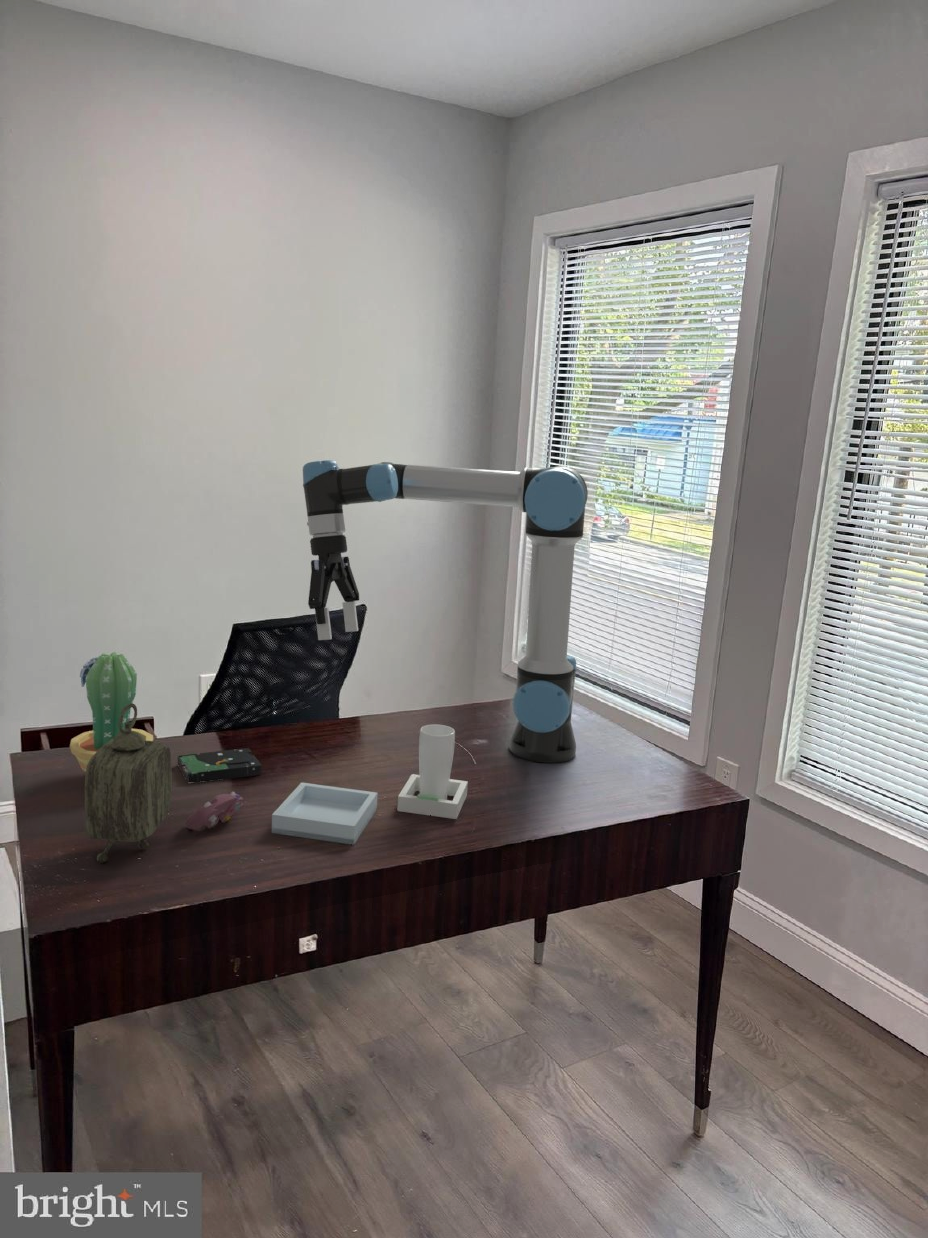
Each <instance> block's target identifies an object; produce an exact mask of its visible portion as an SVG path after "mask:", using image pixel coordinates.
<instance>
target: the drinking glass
mask: <svg viewBox="0 0 928 1238" xmlns="http://www.w3.org/2000/svg"><path fill="white" fill-rule="evenodd" d="M455 738H456V731H455V729H454V728H453V727H450V726H448V725H444V724H432V723H431V724H427V725H426V724H425V725H423V726H422V727H421V728H420V729H419V740H418V768H419V770H418V771H419V772H418V773H419V774H418V775H420V792H419V794H426V795H433V796H439V799H442V800H448V795H447V793H448V786H449V779H451V772H452V765H453V759H454V753H455V744H456V743H455V741H456V739H455Z"/></svg>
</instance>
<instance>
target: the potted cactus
mask: <svg viewBox="0 0 928 1238" xmlns="http://www.w3.org/2000/svg"><path fill="white" fill-rule="evenodd" d="M137 676H138V674H137V672H136V670H135V669H134V667H133V666H132V664H131V662H129V660H128V659H127V658H126V657H125V655H124V654H123V653H120V654H117V652H112V653H110V654H107V653H106V652H102V653H101V655H99V656H97V657H93V658H90V659H89V661H88V660H87V662H86V663H84V665H83V666H82V668H81V669H80V673H79V678H81V679H80V682H81V687H85V686H86V687H85V689H86V698H87V701H88V703H89V705H90V706H89V707H90V708H91V713H92V715H91V716H92V730H89V731H84V732H82V733H80V734H78V735H76V736H74V737H73V738H71V739H70V742H69V743H70V744H69V749H70V751H71V754H72V755H73V756H75V757H76V760H77V761H78V764H79V766H80V768H81V769H82V770H83V772H84V773H85V774H86V768H87V764H88V763H89V761H90V759H91V758H92V756H93V755H94V754H95V753H96V752H97V751H98V750H99V749H100V748H101V747H102V746H103V745H104V744H106V743H107V742H109V741H110V740H112V739H114V738H115V736H116V735H117V734H118V733H120V730H119V726H118V724H119V717H120V714H121V712H122V710H123V709H124V707H126V706H127V705H128V704H131V703H133V704H134V700H135V697H136V694H137V678H138V677H137ZM131 709H132V707H131V708H130V709H128V711H127V712H126V713H125V715H124V717H123V720H122V724H121V726H122V729H125V722H128V721H129V722H130V717H131V711H132V710H131ZM131 730H132V731H136V732H138V733H139V734H141V735H142V737H143V738H144V741H154V735H153V734H151V733H149V732H148V731H146V730H143V729H140V728H139V729H138V728H133V727H132V728H131Z"/></svg>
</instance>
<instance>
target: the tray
mask: <svg viewBox="0 0 928 1238" xmlns="http://www.w3.org/2000/svg"><path fill="white" fill-rule="evenodd" d="M378 793H379V792H375V791H368V790H362V789H361V790H360V789H354V788H353V789H352V788H346V787H345V788H344V787H339V786H332V785H331V786H330V785H323V784H315V783H308V782H300V783H299V784H298V785H297V787H295V789H294V790H293V791H292V792H291V793H290V794H289V795H288V796H287V798H286V799H285V800H284V801H283V802H282V803H281V804H280V805H279V807H277V809H275V810H274V812H273V813H272V814H271V834H276V835H284V836H291V837H298V838H303V839H311V840H318V841H324V842H331V843H337V844H338V843H339V844H346V845H351V844H352V846H354V845H355V844H356V842H357V841H358V840H359V838H360V836H361V835H362V833H363V832H364V830H366V827H367V826H368V824H369V822H370V821H371V820H372V818H373V816H374V814H376V812H377V811H378Z"/></svg>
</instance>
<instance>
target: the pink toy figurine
mask: <svg viewBox="0 0 928 1238" xmlns="http://www.w3.org/2000/svg"><path fill="white" fill-rule="evenodd" d="M244 805H245V799H244V798H243V797H242V796H241V795H239V794H238V793H236V792H235V791H231V792H230V793H221V794H217V795H215V796H214V797H213V798H212V799H210V800H209V801H206V802H205V803H204V804H203V805H201V806H200V807H199V808H198V809H197V810H196V811H195V812H193V813H192V814H190V815H189V816H188V817H187V818H186V820H185V826H186V828H187V829H189V830H197V829H199V828H201V827H203V826H206V827H207V828H208V829H209V828H210V829H212V828H214V827H215V826H217V824H218V822H219V820H220V821H221V823H226V822H229V820H230V819H231V817H232V816H233V815H234V814H236V813H237V812H238V811H239V810H240V809H241V808H242V807H243V806H244ZM211 827H212V828H211Z"/></svg>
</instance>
